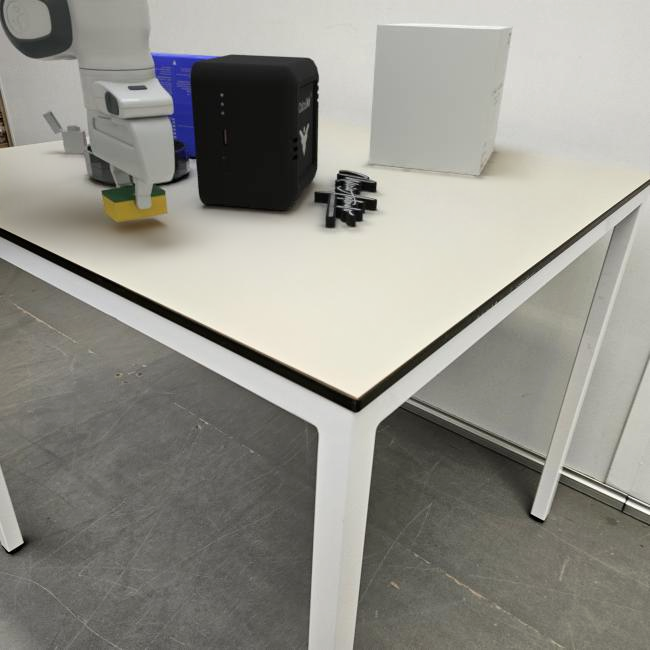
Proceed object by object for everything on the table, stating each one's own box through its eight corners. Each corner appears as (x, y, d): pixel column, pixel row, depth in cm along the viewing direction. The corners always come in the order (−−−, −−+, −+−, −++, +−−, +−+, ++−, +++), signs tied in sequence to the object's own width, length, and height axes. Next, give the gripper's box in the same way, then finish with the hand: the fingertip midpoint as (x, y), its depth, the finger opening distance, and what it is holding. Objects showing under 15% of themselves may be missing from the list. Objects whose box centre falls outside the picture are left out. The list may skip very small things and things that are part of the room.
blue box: (287, 161, 119) (286, 59, 110) (264, 170, 112) (261, 62, 103) (136, 139, 134) (125, 48, 125) (108, 145, 127) (95, 50, 119)
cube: (478, 175, 112) (500, 29, 101) (368, 163, 118) (377, 24, 107) (493, 150, 133) (512, 26, 122) (399, 141, 139) (408, 22, 128)
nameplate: (318, 169, 107) (375, 170, 107) (318, 177, 108) (374, 179, 108) (309, 216, 83) (382, 218, 83) (309, 227, 84) (381, 229, 83)
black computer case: (293, 216, 88) (294, 67, 78) (198, 208, 90) (188, 62, 81) (319, 181, 105) (322, 57, 96) (239, 175, 108) (234, 53, 98)
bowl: (109, 193, 96) (104, 161, 94) (75, 171, 108) (70, 142, 106) (206, 179, 105) (204, 149, 103) (165, 159, 117) (162, 133, 115)
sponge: (117, 222, 78) (113, 198, 77) (104, 213, 81) (101, 190, 80) (167, 213, 82) (165, 190, 81) (153, 205, 85) (151, 182, 84)
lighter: (88, 151, 122) (82, 110, 118) (86, 153, 120) (79, 111, 116) (52, 151, 121) (44, 110, 117) (49, 153, 119) (41, 111, 116)
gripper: (68, 85, 80) (85, 188, 86) (126, 104, 66) (141, 226, 72) (115, 82, 83) (128, 182, 90) (179, 101, 69) (189, 217, 76)
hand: (134, 202), depth 81 cm, fingers closed on sponge, 4 cm apart
